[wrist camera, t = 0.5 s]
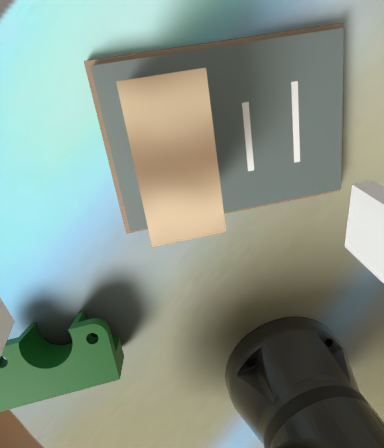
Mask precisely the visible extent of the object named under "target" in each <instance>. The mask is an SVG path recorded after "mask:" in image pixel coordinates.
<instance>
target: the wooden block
mask: <svg viewBox="0 0 384 448" xmlns="http://www.w3.org/2000/svg"><path fill="white" fill-rule="evenodd" d="M116 84H117V89H118V93H119V98H120V102H121V107H122V111H123V116H124V121H125V125H126V130H127V134H128V139H129V143H130V148H131V153H132V157H133V162H134V166H135V171H136V175H137V180H138V185H139V189H140V194H141V198H142V203H143V207H144V212H145V217H146V221H147V226H148V230H149V235H150V239H151V244H152V247H156V246H161V245H165V244H170V243H175V242H180V241H185V240H189V239H194V238H199V237H204V236H209V235H213V234H218V233H223V232H226V226H225V218H224V210H223V201H222V193H221V185H220V177H219V169H218V161H217V153H216V145H215V137H214V128H213V120H212V112H211V104H210V96H209V88H208V80H207V72H206V68H200V69H194V70H187V71H181V72H174V73H168V74H161V75H155V76H149V77H142V78H136V79H129V80H123V81H116Z"/></svg>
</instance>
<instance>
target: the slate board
mask: <svg viewBox="0 0 384 448" xmlns="http://www.w3.org/2000/svg"><path fill="white" fill-rule="evenodd" d="M343 54H344V28H342V23H338V24H332V25H325V26H318V27H311V28H304V29H298V30H291V31H284V32H277V33H271V34H264V35H257V36H250V37H244V38H237V39H230V40H223V41H216V42H210V43H203V44H196V45H189V46H183V47H176V48H169V49H162V50H156V51H149V52H142V53H135V54H128V55H122V56H115V57H108V58H101V59H95V60H88V61H84V64H85V68H86V72H87V76H88V80H89V84H90V88H91V92H92V96H93V100H94V104H95V108H96V112H97V116H98V120H99V124H100V129H101V133H102V137H103V141H104V145H105V149H106V153H107V157H108V161H109V165H110V169H111V173H112V177H113V181H114V185H115V189H116V193H117V197H118V201H119V206H120V210H121V214H122V218H123V222H124V226H125V230H126V234H127V233H132V232H137V231H142V230H147V229H148V226H147V221H146V217H145V212H144V207H143V203H142V198H141V194H140V189H139V185H138V180H137V175H136V171H135V166H134V162H133V157H132V153H131V148H130V143H129V139H128V134H127V130H126V125H125V121H124V116H123V111H122V107H121V102H120V98H119V93H118V89H117V84H116V81H123V80H129V79H136V78H142V77H149V76H155V75H161V74H168V73H174V72H181V71H187V70H194V69H200V68H206V72H207V80H208V88H209V96H210V104H211V112H212V120H213V128H214V137H215V145H216V153H217V161H218V169H219V177H220V185H221V193H222V201H223V210H224V214H226V213H231V212H235V211H240V210H245V209H250V208H255V207H260V206H265V205H270V204H275V203H280V202H285V201H290V200H295V199H300V198H305V197H309V196H314V195H319V194H324V193H329V192H334V191H339V190H340V189H341V168H342V111H343Z"/></svg>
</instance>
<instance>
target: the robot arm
mask: <svg viewBox="0 0 384 448" xmlns="http://www.w3.org/2000/svg"><path fill="white" fill-rule="evenodd" d="M344 247H346V248H347V249H348V250H349V251H350V252H351V253H352V254H353V255H354V256H355V257H356V258H357V259H358V260H359V261H360V262H361V263H362V264H363V265H365V266H366V267H367V268H368V269H369V270H370V271H371V272H372V273H373V274H374V275H375V276H376V277H377V278H378V279H379V280H380V281H381V282H382V283H383V284H384V187H383V186H381V185H379V184H377V183H376V182H374V181H372V180H371V181H367V182H362V183H357V184H352V191H351V199H350V207H349V214H348V222H347V230H346V238H345V246H344ZM14 322H15V321H14V320H13V318H12V316H11V315H10V313H9V311H8V310H7V308H6V306H5V305H4V303H3V301H2V300H1V298H0V357H1V354H2V352H3V349H4V347H5V344H6V342H7V339H8V337H9V334H10V332H11V329H12V327H13V324H14ZM225 380H226V386H227V389H228V392H229V395H230V398H231V401H232V403H233V405H234V407H235V409H236V410H237V412H238V413H239V414H240V415H241V417H242V418H243V419H244V420H245V422H246V423H247V424H248V426H249V427H250V428H251V429H252V431H253V432H254V433H255V434H256V436H257V437H258V438H259V440H260V441H261V442H262V443H263V445H264V447H265V448H384V422H383V421H382V420H381V418H380V417H379V416H378V415H377V413H376V412H375V411H374V410H373V408H372V407H371V406H370V405H369V403H368V402H367V401H366V400H365V398H364V397H363V396H362V394H361V393H360V391H359V389H358V386H357V383H356V381H355V378H354V375H353V373H352V370H351V367H350V365H349V362H348V359H347V357H346V354H345V351H344V349H343V348H342V346H341V344H340V343H339V341H338V340H337V339H336V338H335V337H334V336H333V334H332V333H331V332H330V331H329V330H328V329H327V328H326V327H325V326H323V325H322V324H320V323H318V322H316V321H314V320H310V319H306V318H284V319H280V320H276V321H273V322H270V323H267V324H265V325H263V326H261V327H259V328H258V329H256V330H254V331H253V332H252V333H250V334H249V335H248V336H246V337H245V338H244V339H243V340H242V341H241V342H240V343H239V345H238V346H237V347H236V348H235V350H234V351H233V353H232V355H231V356H230V359H229V361H228V364H227V367H226V373H225Z"/></svg>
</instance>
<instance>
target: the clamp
mask: <svg viewBox="0 0 384 448" xmlns="http://www.w3.org/2000/svg"><path fill="white" fill-rule="evenodd" d="M68 331H69V332H70V334H71V337H72V342H71V343H69V344H66V345H54V344H51V343H49V342H47V341H46V340H44V339H43V338H42V337H41V335H40V334H39V331H38V328H37V323H33V324H31V325H30V326H29V327H28V328H27V329H26V330H25V331H24V332H23V333H22V334H21V336H20V337H18V338H14V339H10V340H7V342H6V344H5V347H4V349H3V352H2V354H1V357H0V412H1V411H5V410H8V409H12V408H16V407H19V406H23V405H27V404H31V403H34V402H38V401H42V400H45V399H49V398H53V397H56V396H60V395H64V394H67V393H71V392H75V391H78V390H82V389H86V388H89V387H93V386H97V385H100V384H104V383H108V382H111V381H115V380H119V379H120V375H121V370H122V364H123V359H124V354H123V350H122V347H121V343H120V339H119V337H118V336H112V335H111V331H110V327H109V325H108V324H107V323H106V322H105V321H104V320H102V319H99V318H93V319H89V320H87V317H86V313H85V311H81V312H79V313H78V315H77V316H76V318H75V319H74V321H73V323H72V324H71V326H70V328H69V329H68ZM91 333H95V334H97V335H98V337H96V338H94V337H92V335H91ZM2 356H3V357H5V358H6V359H7V360H5V359H4V358H3V357H2Z"/></svg>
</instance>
